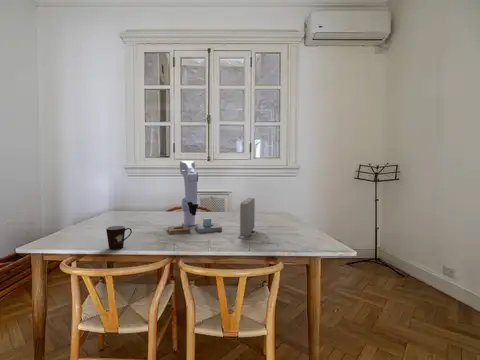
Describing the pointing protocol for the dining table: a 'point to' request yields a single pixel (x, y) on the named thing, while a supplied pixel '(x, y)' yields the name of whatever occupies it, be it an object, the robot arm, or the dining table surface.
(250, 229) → the network device
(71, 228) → the dining table surface
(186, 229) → the brown square frame
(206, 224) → the plug
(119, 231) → the coffee mug
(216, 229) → the port plate
